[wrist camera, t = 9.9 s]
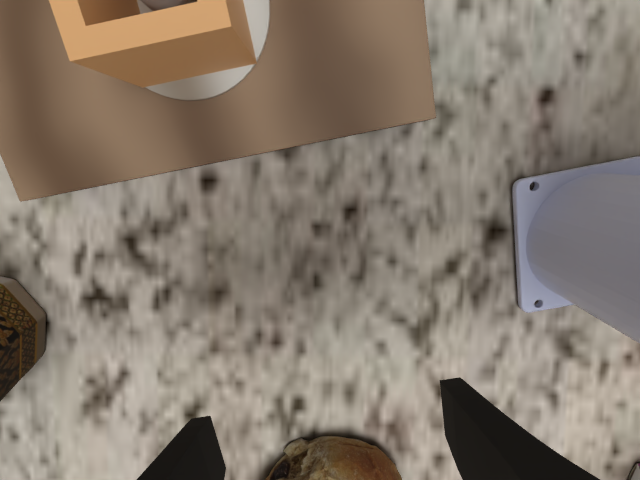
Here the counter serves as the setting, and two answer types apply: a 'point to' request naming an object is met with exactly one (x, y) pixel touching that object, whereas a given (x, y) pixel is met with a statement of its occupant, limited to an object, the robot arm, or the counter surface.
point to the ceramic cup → (18, 333)
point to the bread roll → (333, 461)
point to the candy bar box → (635, 473)
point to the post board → (207, 93)
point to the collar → (155, 38)
